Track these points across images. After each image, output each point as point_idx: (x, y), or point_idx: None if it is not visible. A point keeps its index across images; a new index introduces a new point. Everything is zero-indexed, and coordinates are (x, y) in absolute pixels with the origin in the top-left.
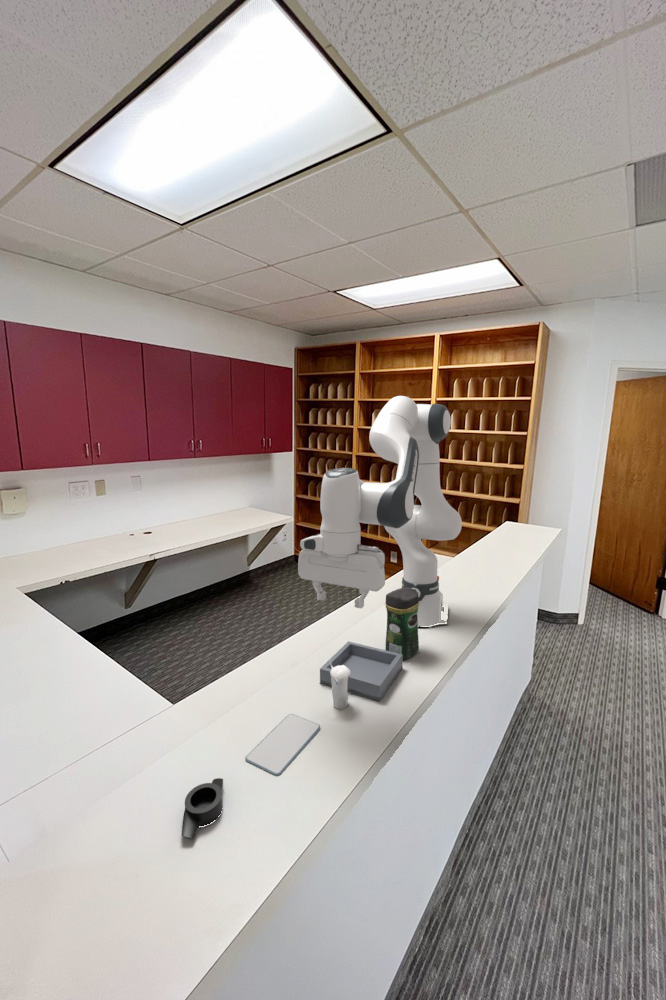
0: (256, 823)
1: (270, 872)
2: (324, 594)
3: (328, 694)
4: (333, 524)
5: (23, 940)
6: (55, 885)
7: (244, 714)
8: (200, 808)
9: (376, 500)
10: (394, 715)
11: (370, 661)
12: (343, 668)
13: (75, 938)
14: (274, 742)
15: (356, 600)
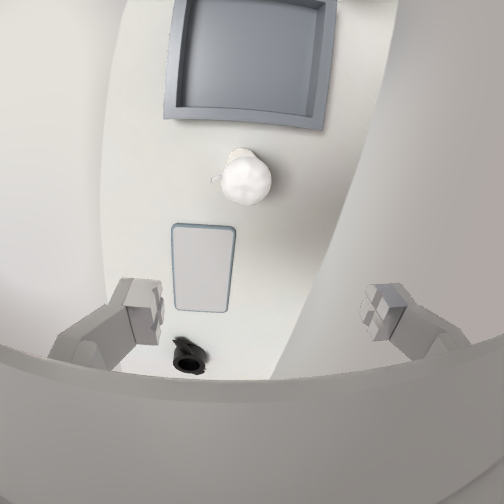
0: (238, 347)
1: (270, 362)
2: (154, 316)
3: (204, 140)
4: None
5: None
6: None
7: (111, 249)
8: (195, 370)
9: None
10: (343, 154)
11: (252, 6)
12: (254, 181)
13: None
14: (190, 281)
15: (381, 339)
